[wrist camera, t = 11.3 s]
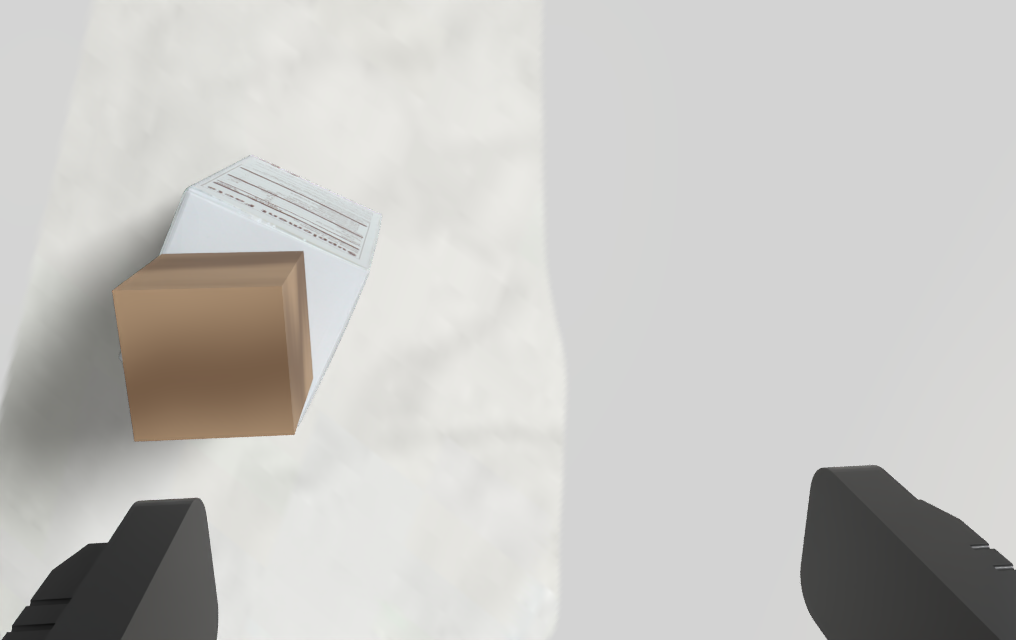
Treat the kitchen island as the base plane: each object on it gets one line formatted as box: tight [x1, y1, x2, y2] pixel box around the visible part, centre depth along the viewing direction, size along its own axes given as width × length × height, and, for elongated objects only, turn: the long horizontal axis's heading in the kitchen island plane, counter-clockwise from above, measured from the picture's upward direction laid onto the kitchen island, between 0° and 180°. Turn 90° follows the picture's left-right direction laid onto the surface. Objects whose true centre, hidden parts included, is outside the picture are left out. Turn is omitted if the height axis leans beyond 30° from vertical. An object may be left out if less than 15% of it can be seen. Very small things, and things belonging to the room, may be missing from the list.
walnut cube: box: [112, 251, 313, 442], centre depth 28 cm, size 5×5×5 cm
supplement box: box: [119, 155, 382, 426], centre depth 36 cm, size 7×7×13 cm
